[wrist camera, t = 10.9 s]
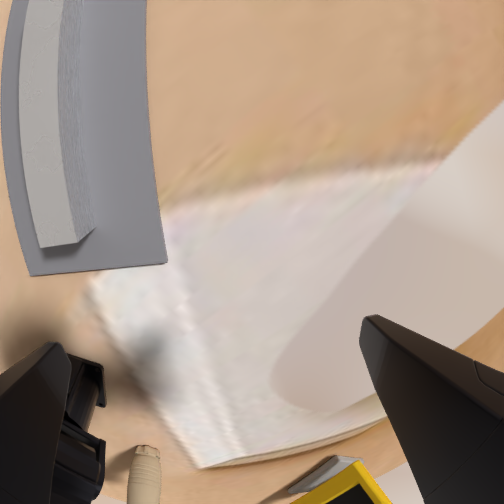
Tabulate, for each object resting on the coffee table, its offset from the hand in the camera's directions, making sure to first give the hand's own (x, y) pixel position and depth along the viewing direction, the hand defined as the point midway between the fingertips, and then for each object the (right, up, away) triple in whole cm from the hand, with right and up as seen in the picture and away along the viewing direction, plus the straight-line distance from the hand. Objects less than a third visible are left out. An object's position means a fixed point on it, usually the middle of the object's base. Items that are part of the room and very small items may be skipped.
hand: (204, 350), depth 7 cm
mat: (-11, +13, +7) cm, 18 cm away
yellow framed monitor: (+13, -34, +29) cm, 46 cm away
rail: (-11, +12, +6) cm, 18 cm away
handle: (-12, -22, +21) cm, 32 cm away
